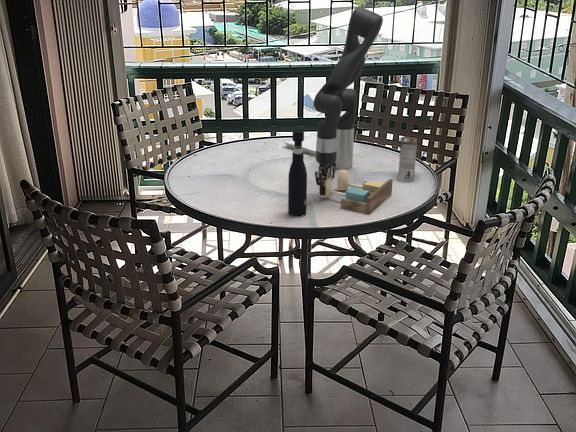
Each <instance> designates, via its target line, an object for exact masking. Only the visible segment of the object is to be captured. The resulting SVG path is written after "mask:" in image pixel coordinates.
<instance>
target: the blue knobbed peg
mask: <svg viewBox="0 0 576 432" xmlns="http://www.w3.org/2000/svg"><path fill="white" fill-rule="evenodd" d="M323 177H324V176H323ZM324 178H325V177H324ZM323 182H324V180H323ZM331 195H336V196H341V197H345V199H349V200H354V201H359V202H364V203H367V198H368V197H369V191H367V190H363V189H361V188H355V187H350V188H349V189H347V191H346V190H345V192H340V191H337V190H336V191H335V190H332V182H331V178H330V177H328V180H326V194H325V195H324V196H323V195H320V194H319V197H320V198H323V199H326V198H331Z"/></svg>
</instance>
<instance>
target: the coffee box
mask: <svg viewBox="0 0 576 432" xmlns="http://www.w3.org/2000/svg"><path fill="white" fill-rule="evenodd" d="M417 146H418V137H415V136H414V137H413V136H401V141H400V148H399V162H398V173H397V174H398V175H397V181H398V182H399V181H400V182H414V181H415V180H414V179H415V178H414V177H415V171H416V158H417V149H418V148H417Z"/></svg>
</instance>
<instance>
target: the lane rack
mask: <svg viewBox="0 0 576 432" xmlns="http://www.w3.org/2000/svg"><path fill="white" fill-rule="evenodd" d="M366 181H367V180H365V181H363V184H364V183H365V182H366ZM383 183H384V184H383V185H382V186H381V187H380V188H378V189H377V190H376V191H375V192H374V193H372V192H369V197H368V198H367V203H364V202H359V201H354V200H349V199H346V198H341V199H340V200H341V201H340V209H342V208H344V209H343V210H347V209H348V210H347V211H351V210H352V212H356V213H357V212H358V213H361V212H362V214H367V215H371V214H372V213H373V212H374V211H375V210H376V209H377V208H378V207H379V206H380V205H382V204H383V203H384V202H385V201H386V200H387V199H388V198H390V196H392V193H393V179H392V178H389V179H388V180H387V181H385V182H383Z"/></svg>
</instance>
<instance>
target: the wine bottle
mask: <svg viewBox="0 0 576 432" xmlns="http://www.w3.org/2000/svg"><path fill="white" fill-rule="evenodd" d="M304 136H305V131H304V130H303V129H294V130H292V139H293V141H295V142H294V146H295V147H294V148H292V150H293V152H292V159H291V160H292V161H291V164H290V167H289V171H288V180H287V181H288V196H287V197H288V201H287V202H288V204H287V206H288V207H287V210H288V211H287V212H288V213H289V214H290V215H293V216H292V217H294V216H301V217H303V216H302V215H304V216H306V215H307V203H308V202H307V199H308V194H307V193H308V192H307V191H308V189H307V188H308V172H307V167H306V164H305V161H304V153H305V152H304V151H302V150H303V148H302V141H304ZM289 214H288V215H289ZM305 214H306V215H305ZM290 215H289V216H290Z"/></svg>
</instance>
